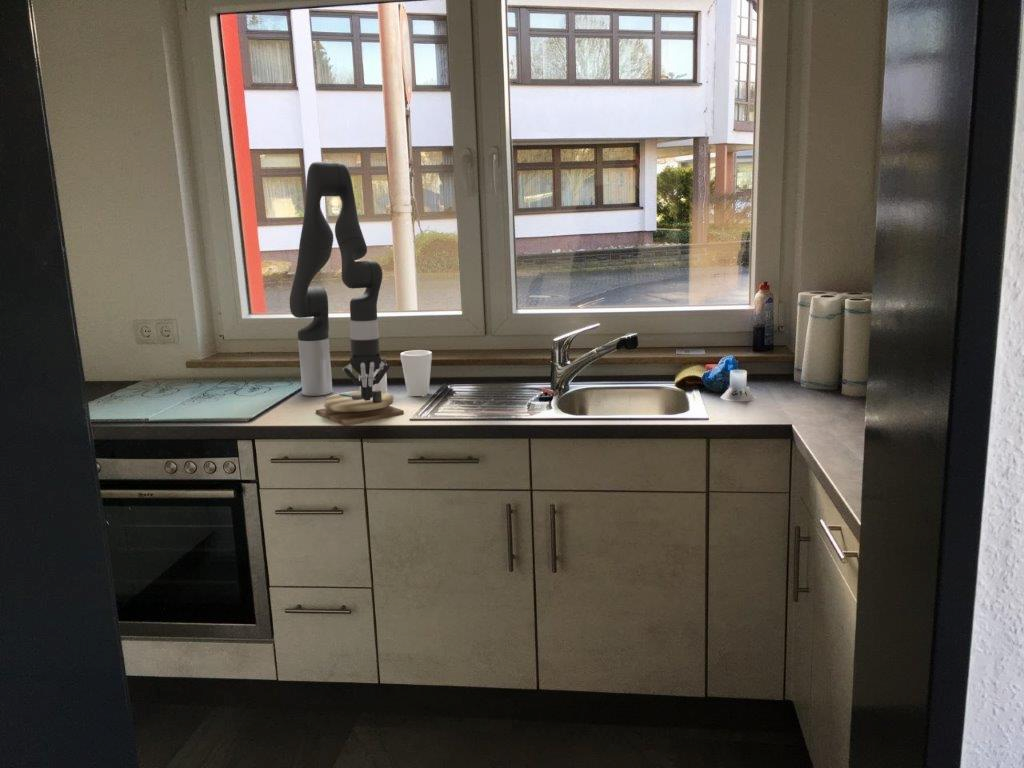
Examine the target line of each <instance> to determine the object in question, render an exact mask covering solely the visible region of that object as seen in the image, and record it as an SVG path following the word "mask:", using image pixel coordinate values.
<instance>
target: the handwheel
mask: <svg viewBox="0 0 1024 768" xmlns="http://www.w3.org/2000/svg"><path fill="white" fill-rule="evenodd" d="M372 393H373V396H372V398H370V400H367V401H365V400H364V399H363V398H362V397H361V391H360V390H353V391H345V392H339V393H335V394H332V395H328V396H327V397H325V398H324V399H323V407H324V408H327V409H329V410H334V411H343V412H356V411H368V410H374V409H379V408H383V407H386V406H392V404H393V403H394V397H393V396H394V395H393V394H391V393H389V392H388V391H387V392H382V391H380V390H375V391H372Z"/></svg>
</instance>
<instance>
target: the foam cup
mask: <svg viewBox="0 0 1024 768" xmlns="http://www.w3.org/2000/svg"><path fill="white" fill-rule="evenodd" d="M432 360H433V352H432V351H430V350H423V349H415V350H406V351H403V352H400V362H401V366H402V370H403V377H404V382H405V387H406V388H405V389H406V393H407V396H408V395H409V396H408V397H411V396H422V397H424V396H423V395H426V394H428V395H429V392H430V381H431V369H432V368H431V367H432ZM426 396H427V395H426Z"/></svg>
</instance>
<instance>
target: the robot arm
mask: <svg viewBox="0 0 1024 768" xmlns="http://www.w3.org/2000/svg"><path fill="white" fill-rule="evenodd" d="M307 170H308V171H307V176H306V185H305V187H306V189H305V202H304V203H305V205H304V206H305V207H304V213H303V221H302V222H303V223H302V226H301V227H302V228H301V233H300V239H299V245H298V255H297V263H296V268H295V273H294V277H293V281H292V286H291V290H290V294H289V295H290V296H289V309H290V310H289V311H290V314H291V315H292V316H293V317H295V318H298V319H304V318H312V319H313V320H312V321H311V322H310V323H309V324H308V325H306V326H304V327H302V328H300V329H299V330H298V331H297V341H298V352H299V353H298V355H299V368H300V377H301V378H300V380H301V394H302V395H303V396H307V397H315V396H316V397H318V396H324V395H325V396H327V395H329V394H332V393H333V381H332V366H331V365H332V364H331V353H330V350H331V349H330V340H329V339H330V338H329V329H330V324H329V320H330V319H329V298H328V293H327V291H326V289H325V288H324V287H323V286H320V285H318V286H317V285H316V286H310V285H311V283H312V281H313V280H314V278H315V277H316V276H317V274H318V273H319V272H320V271H321V270H322V269H323V268H324V267H325V266H326V265H327V263H328V262H329V260H330V259H331V256H332V250H333V245H334V234H335V240H336V242H337V245H338V248H339V252H340V258H341V280H342V283H343V284H344V285H345V286H346V287H347V288H348V289H352V290H353V289H365V290H364V293H363V294H362V295H359V296H357V297H353V298H351V299H350V302H349V313H350V314H349V315H350V316H349V317H350V323H349V338H350V341H349V342H350V359H349V361H348V362H349V363H348V364H347V365H345V366H343V367H342V368H341V370H342V372H343V373H344V374H345V375H346V376H347V377H348V378H349V379H350V380H351V382H353V384H354V385H355V386H358V387H359V386H361V397H362V398H363V399H364V400H365V401H367V400H370V398H372V396H373V393H372V386H373V385H375V384H378V383H379V382H380V381H381V379H382V378H383V376H384V375H385V373H386V374H387V372H388V370H389V369H390V365H388V364H387V363H386V364H385V363H383V362H382V360H381V357H382V356H381V354H380V335H379V333H380V332H379V331H380V330H379V324H378V323H379V322H378V306H377V305H378V301H379V300H378V299H379V294H380V290H381V285H382V283H383V270H382V267H381V265H380V264H379V262H377V261H375V260H360V259H362V258H363V257H365V256H366V255H367V253H368V246H367V243H366V241H365V238H364V235H363V231H362V228H361V225H360V221H359V217H358V211H357V205H356V198H355V192H354V186H353V182H352V180H353V179H352V176H351V173H350V170H349V168H348V166H347V165H346V164H345V163H343V162H337V161H315V162H311V163H310V165H309V167H308V169H307ZM322 197H339V199H340V200H341V201H340V202H341V208H340V211H339V214H338V216H337V218H336V222H335V226H334V233H333V230H332V228H331V226H330V224H329V223H328V221H327V219H326V217H325V215H324V213H323V211H322V208H321V200H322ZM379 365H380V366H379ZM378 366H379V369H380V370H379V371H378V373H377V374H376V376H375V377H374V372H375V371H376V369H377V368H378ZM352 368H353V369H354V370H355V371H356V373H357V374H358V377H356V376H355V375H354V374H353V369H352ZM355 371H354V372H355ZM366 377H367V378H366ZM357 378H358V379H357ZM359 378H360V381H359Z"/></svg>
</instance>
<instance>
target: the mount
mask: <svg viewBox="0 0 1024 768" xmlns="http://www.w3.org/2000/svg"><path fill="white" fill-rule="evenodd" d="M404 411H405V410H403V409H400V408H398V407H395V406H392V405H389V406H386V407H383V408H379V409H374V410H368V411H356V412H343V411H334V410H329V409H327V408H325V407H324V408H319V409H315V414H317V415H319V416H321V417H323V418H326V419H329V420H331V421H333V422H336V423H339V424H341V425H343V426H350V425H355V423H356V424H360V423H365V421H366V422H370V420H371V421H376V420H380V419H385V418H390V417H395V416H400V415H403V414H405V412H404ZM375 419H376V420H375Z"/></svg>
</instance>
